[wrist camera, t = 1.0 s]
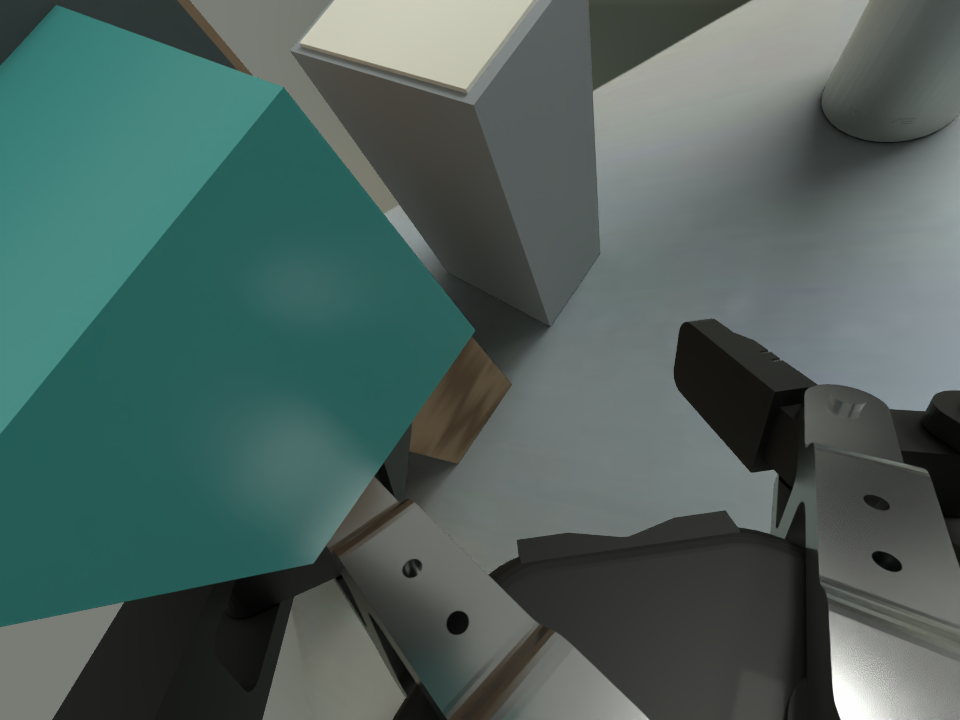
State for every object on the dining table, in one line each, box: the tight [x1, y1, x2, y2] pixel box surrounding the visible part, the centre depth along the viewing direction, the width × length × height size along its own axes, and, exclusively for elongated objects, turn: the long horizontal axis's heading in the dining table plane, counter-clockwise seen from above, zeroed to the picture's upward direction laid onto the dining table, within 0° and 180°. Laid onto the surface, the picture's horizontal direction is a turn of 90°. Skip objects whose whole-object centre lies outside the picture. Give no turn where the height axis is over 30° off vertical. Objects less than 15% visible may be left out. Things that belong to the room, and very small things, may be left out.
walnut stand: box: [177, 0, 512, 464], centre depth 24 cm, size 8×12×30 cm, turn 54°
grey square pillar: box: [290, 0, 600, 327], centre depth 29 cm, size 8×12×22 cm, turn 54°
